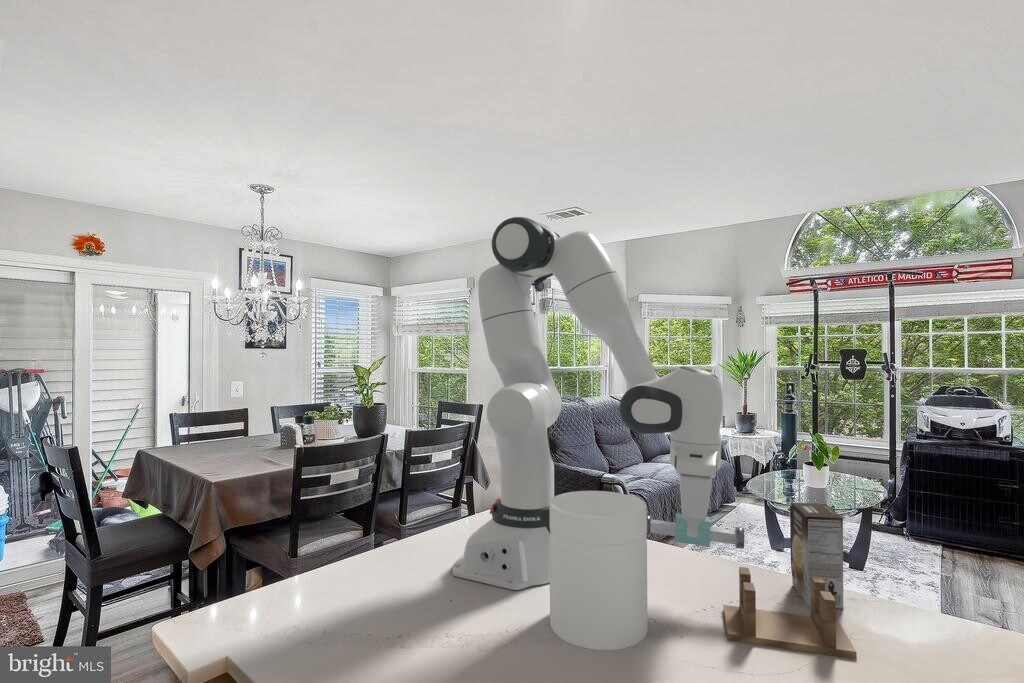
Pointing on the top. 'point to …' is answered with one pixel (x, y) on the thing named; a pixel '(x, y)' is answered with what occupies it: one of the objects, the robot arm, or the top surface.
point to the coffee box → (817, 549)
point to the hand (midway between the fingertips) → (692, 531)
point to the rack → (788, 622)
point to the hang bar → (704, 532)
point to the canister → (598, 569)
